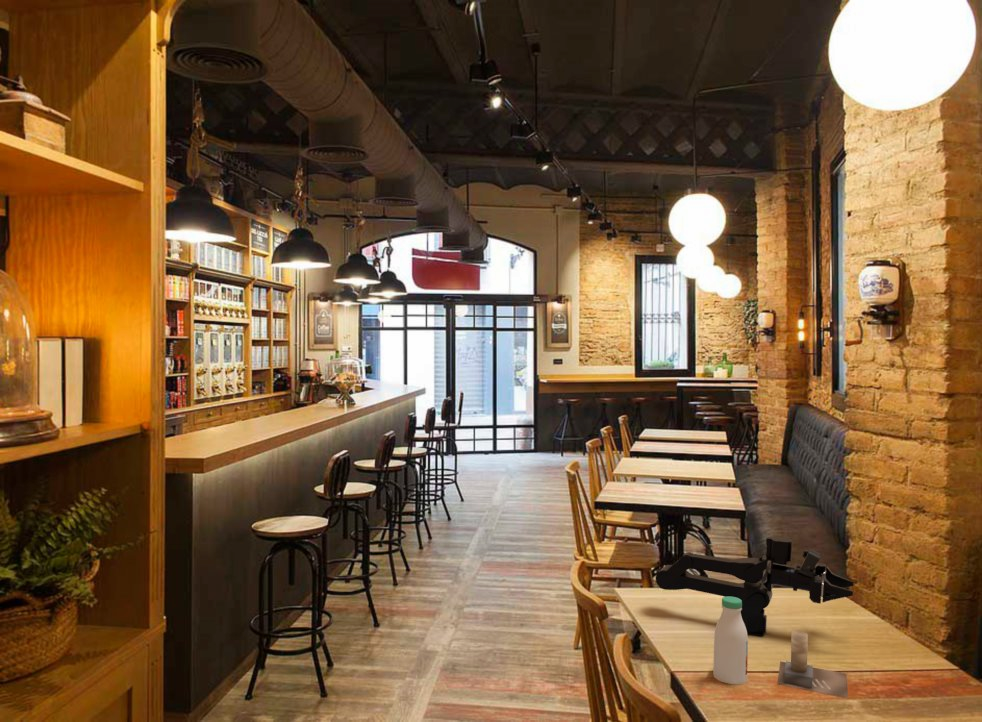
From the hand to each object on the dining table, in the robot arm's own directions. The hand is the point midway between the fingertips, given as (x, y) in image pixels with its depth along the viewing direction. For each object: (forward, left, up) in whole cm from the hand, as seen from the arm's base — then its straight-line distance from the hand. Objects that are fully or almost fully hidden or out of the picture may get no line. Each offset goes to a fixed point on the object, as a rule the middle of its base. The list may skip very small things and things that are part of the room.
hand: (853, 588), depth 192 cm
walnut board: (-9, -27, -17) cm, 33 cm away
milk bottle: (-27, -35, -17) cm, 47 cm away
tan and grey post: (-12, -29, -15) cm, 35 cm away
